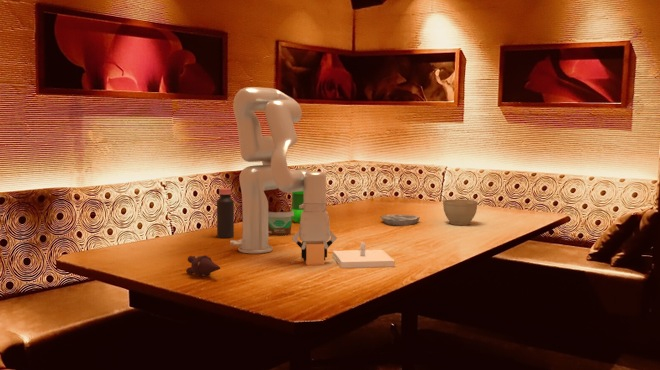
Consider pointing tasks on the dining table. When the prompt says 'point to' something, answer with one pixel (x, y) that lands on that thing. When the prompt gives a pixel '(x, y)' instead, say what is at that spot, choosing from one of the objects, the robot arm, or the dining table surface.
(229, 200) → the vinegar
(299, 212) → the plastic bottle
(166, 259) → the dining table surface
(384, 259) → the post board
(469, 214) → the planter bowl
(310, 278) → the dining table surface
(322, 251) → the orange block
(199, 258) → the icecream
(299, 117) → the robot arm
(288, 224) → the food container
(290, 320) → the dining table surface
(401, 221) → the grey stone plate
